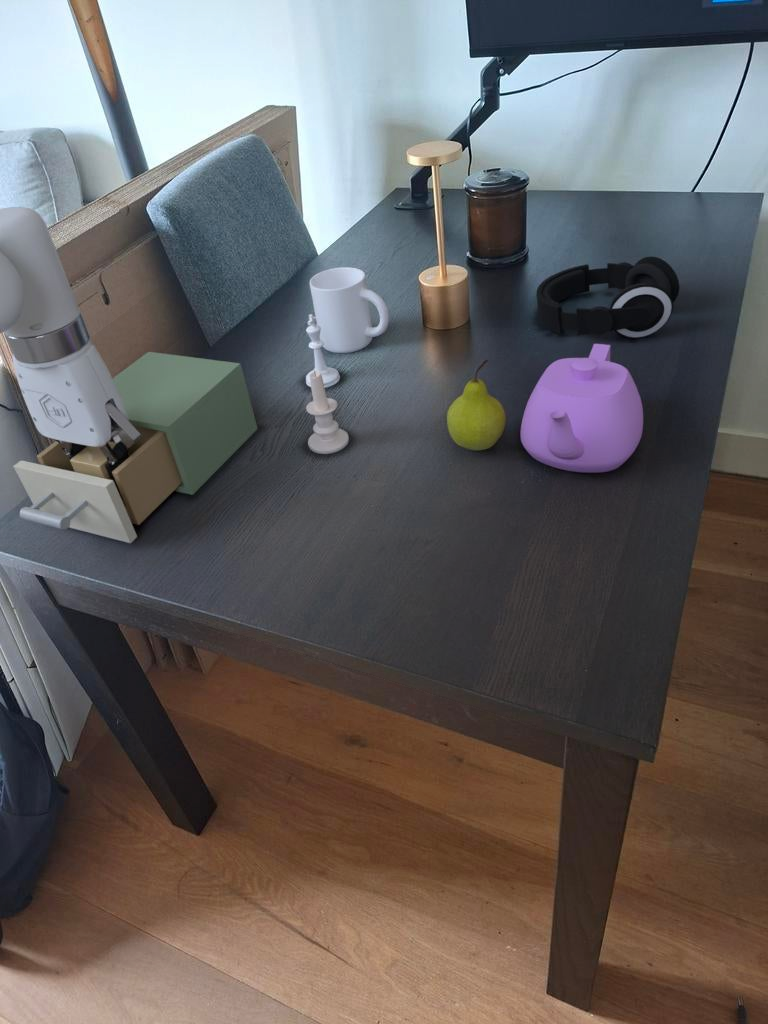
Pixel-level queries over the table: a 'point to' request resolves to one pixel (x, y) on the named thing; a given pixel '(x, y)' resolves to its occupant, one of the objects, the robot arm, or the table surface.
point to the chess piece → (320, 356)
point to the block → (91, 462)
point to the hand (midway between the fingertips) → (109, 480)
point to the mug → (346, 309)
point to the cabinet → (190, 409)
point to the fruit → (476, 417)
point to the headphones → (631, 309)
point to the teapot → (583, 414)
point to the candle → (324, 420)
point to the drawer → (100, 489)
